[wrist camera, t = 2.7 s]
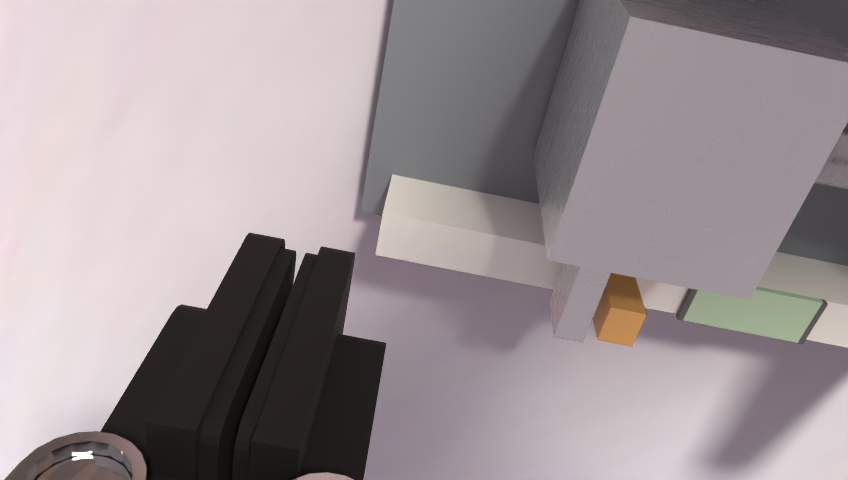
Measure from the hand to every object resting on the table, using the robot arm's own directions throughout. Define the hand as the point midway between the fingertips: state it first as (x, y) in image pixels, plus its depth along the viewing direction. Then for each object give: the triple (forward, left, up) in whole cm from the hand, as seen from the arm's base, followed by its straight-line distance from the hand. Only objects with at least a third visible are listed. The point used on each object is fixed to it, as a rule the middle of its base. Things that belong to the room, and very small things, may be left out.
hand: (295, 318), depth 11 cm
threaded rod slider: (+2, +13, -15) cm, 20 cm away
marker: (+6, +9, -12) cm, 16 cm away
